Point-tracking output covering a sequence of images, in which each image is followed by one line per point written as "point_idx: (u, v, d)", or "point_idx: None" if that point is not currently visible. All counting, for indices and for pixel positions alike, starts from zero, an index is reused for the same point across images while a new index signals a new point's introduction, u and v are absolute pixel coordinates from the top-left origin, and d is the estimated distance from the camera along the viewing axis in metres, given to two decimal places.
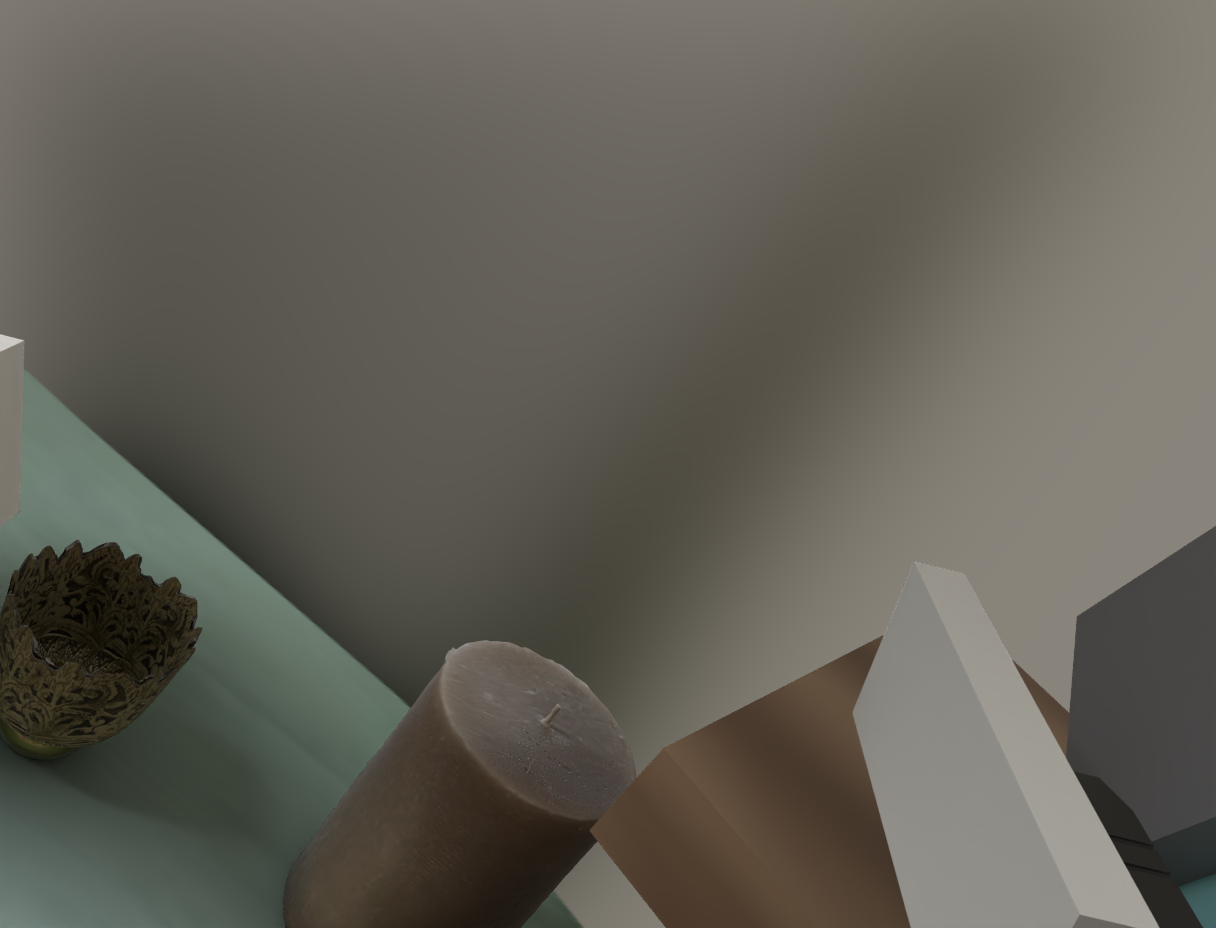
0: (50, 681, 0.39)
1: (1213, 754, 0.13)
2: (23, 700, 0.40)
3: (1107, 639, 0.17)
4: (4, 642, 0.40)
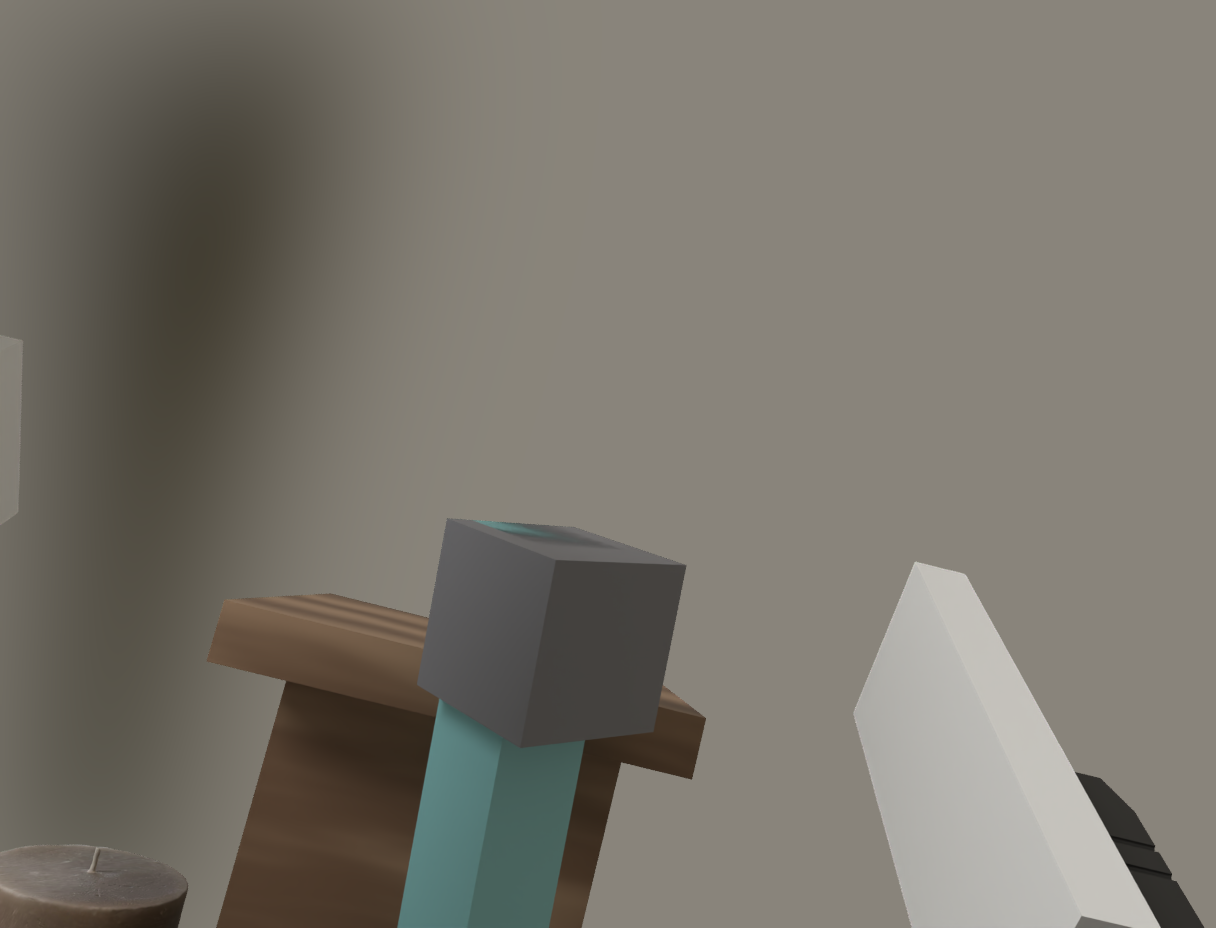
0: None
1: (478, 686, 0.28)
2: None
3: (456, 558, 0.30)
4: None
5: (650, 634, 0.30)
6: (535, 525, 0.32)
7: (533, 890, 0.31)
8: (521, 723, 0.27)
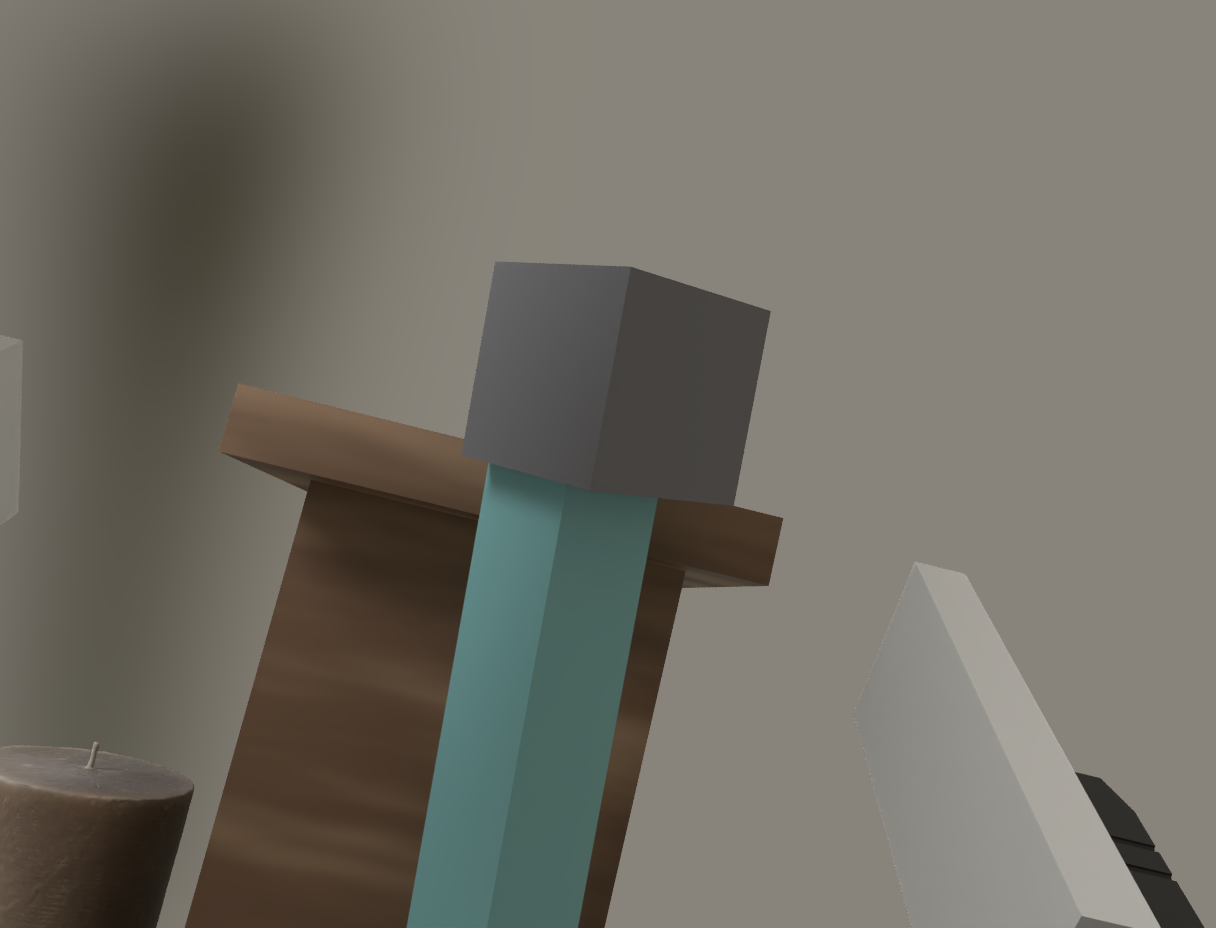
0: None
1: (537, 436, 0.25)
2: None
3: (507, 302, 0.26)
4: None
5: (731, 386, 0.26)
6: None
7: (596, 692, 0.27)
8: (591, 463, 0.23)
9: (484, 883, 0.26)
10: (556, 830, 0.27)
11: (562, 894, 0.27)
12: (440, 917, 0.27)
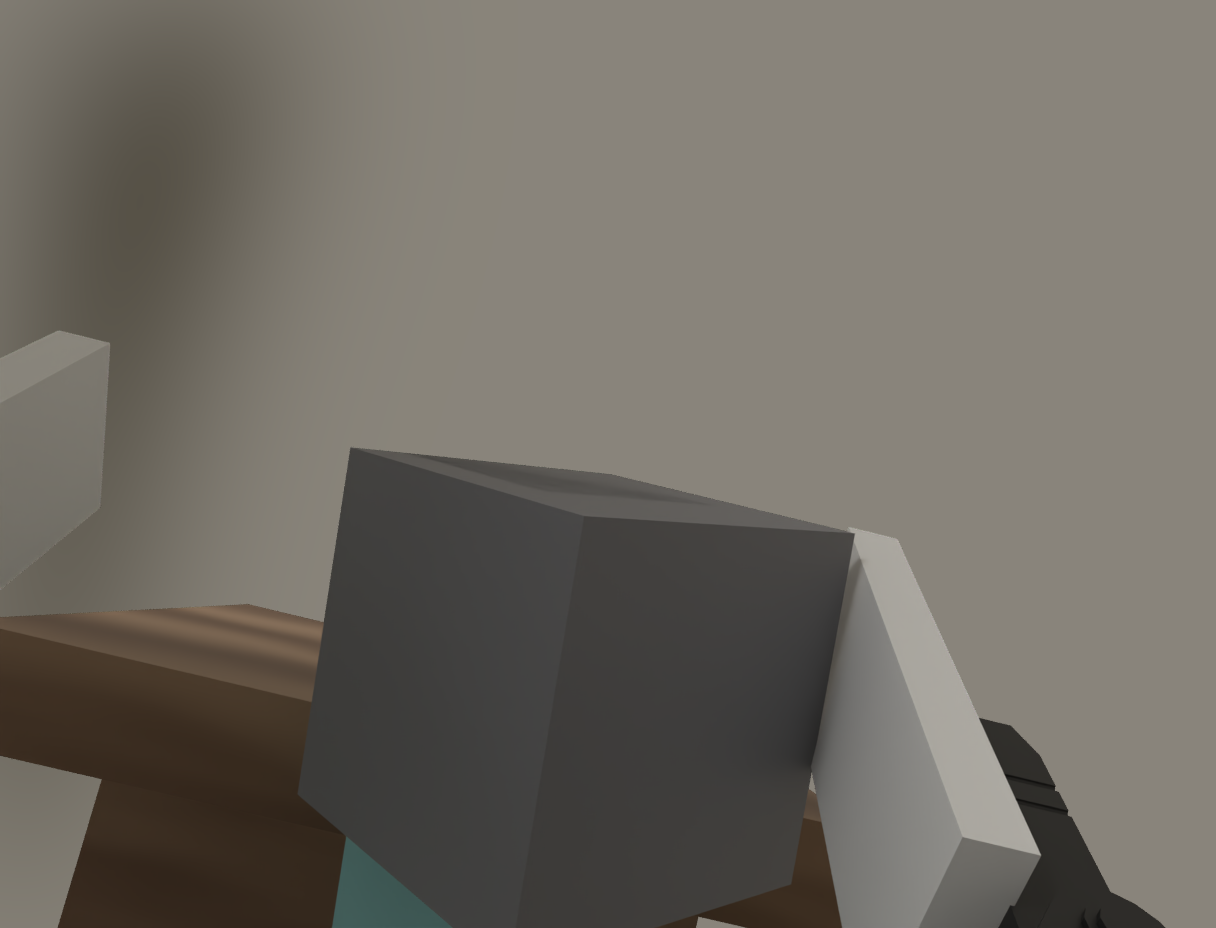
0: None
1: (414, 811, 0.13)
2: None
3: (368, 529, 0.14)
4: None
5: (787, 683, 0.14)
6: (536, 467, 0.17)
7: None
8: (509, 913, 0.11)
9: None
10: None
11: None
12: None
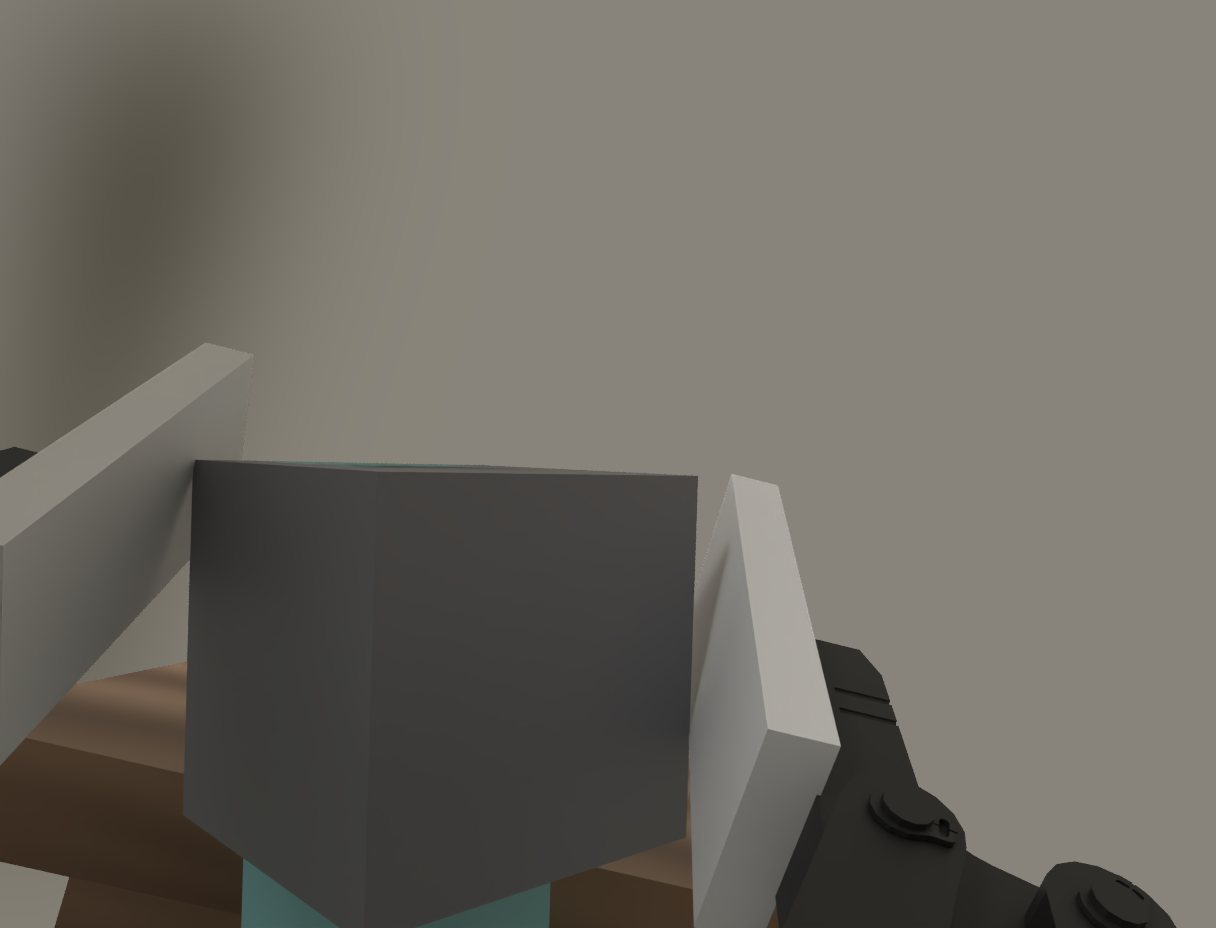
0: None
1: (276, 803, 0.13)
2: None
3: (214, 534, 0.14)
4: None
5: (645, 630, 0.14)
6: None
7: None
8: (360, 882, 0.11)
9: None
10: None
11: None
12: None
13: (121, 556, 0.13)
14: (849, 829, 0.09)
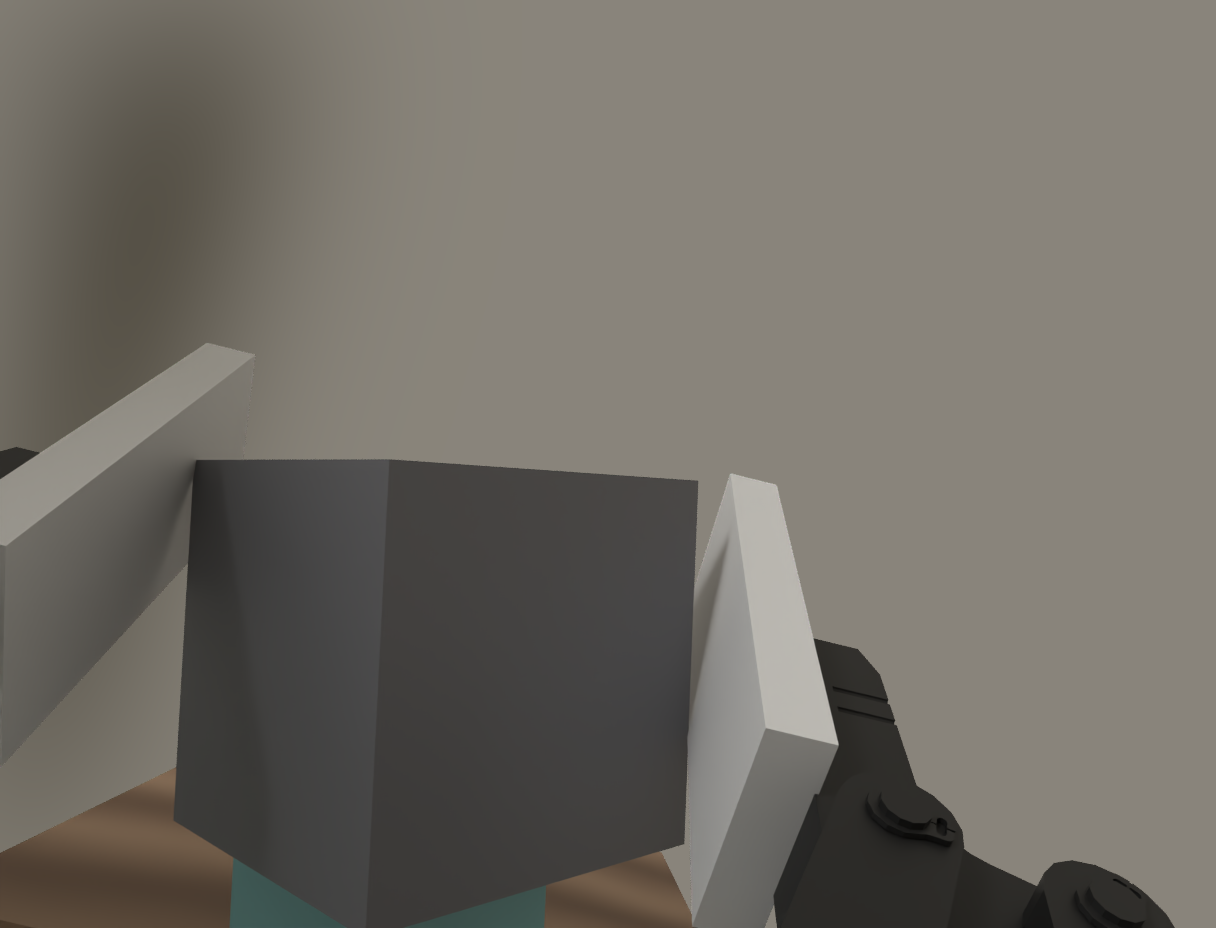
0: None
1: (274, 801, 0.12)
2: None
3: (214, 533, 0.14)
4: None
5: (646, 632, 0.14)
6: None
7: None
8: (362, 875, 0.11)
9: None
10: None
11: None
12: None
13: (123, 557, 0.13)
14: (848, 828, 0.09)
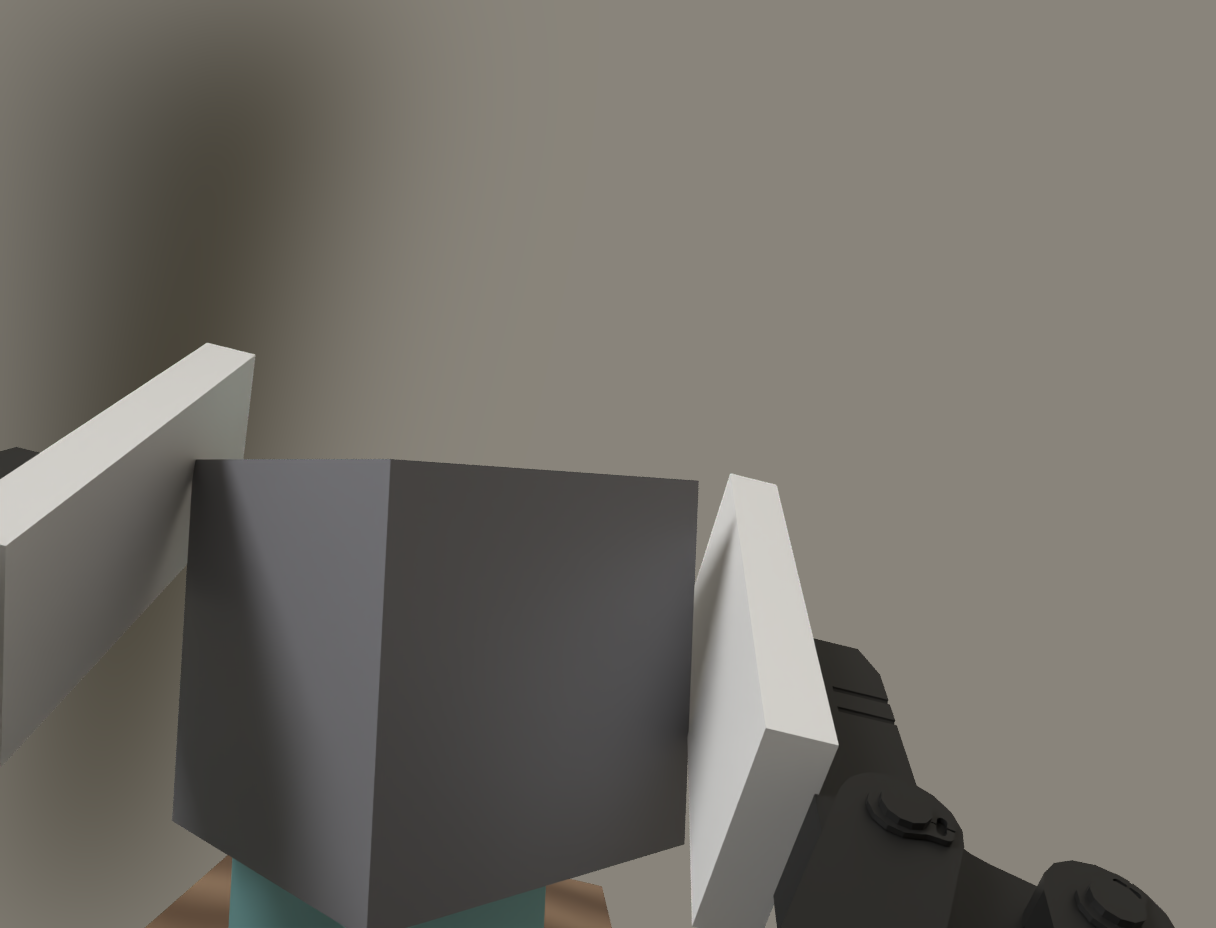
0: None
1: (274, 801, 0.12)
2: None
3: (213, 533, 0.14)
4: None
5: (646, 632, 0.14)
6: None
7: None
8: (363, 876, 0.11)
9: None
10: None
11: None
12: None
13: (123, 557, 0.13)
14: (847, 828, 0.09)
